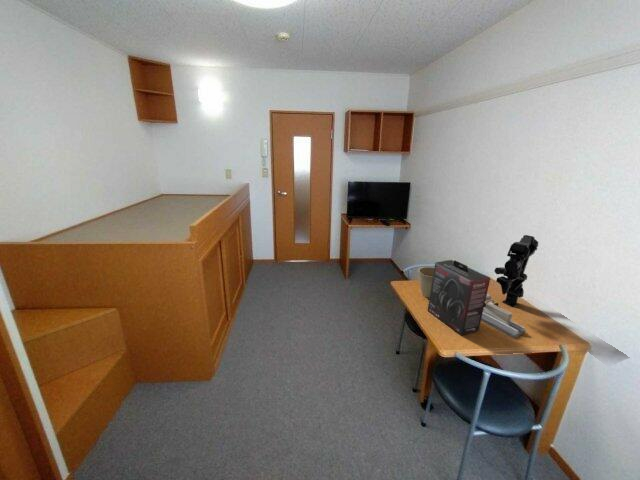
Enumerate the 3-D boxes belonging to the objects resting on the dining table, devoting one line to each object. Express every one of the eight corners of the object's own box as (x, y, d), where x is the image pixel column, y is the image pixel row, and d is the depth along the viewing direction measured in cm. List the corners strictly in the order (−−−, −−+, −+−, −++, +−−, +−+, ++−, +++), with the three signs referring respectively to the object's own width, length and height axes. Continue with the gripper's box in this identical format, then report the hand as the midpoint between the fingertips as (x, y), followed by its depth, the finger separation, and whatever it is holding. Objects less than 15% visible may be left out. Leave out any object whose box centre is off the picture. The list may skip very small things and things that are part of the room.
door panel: (486, 313, 156) (489, 302, 154) (509, 325, 146) (512, 313, 144) (483, 315, 154) (486, 303, 152) (506, 327, 144) (509, 315, 142)
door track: (480, 309, 163) (481, 303, 162) (525, 332, 143) (526, 326, 142) (468, 313, 158) (469, 308, 157) (513, 338, 138) (515, 332, 137)
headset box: (426, 310, 161) (434, 255, 150) (443, 306, 165) (453, 253, 155) (460, 336, 139) (473, 274, 129) (480, 331, 143) (493, 271, 133)
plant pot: (426, 287, 187) (430, 265, 182) (446, 297, 175) (450, 273, 170) (410, 292, 180) (413, 269, 175) (429, 303, 168) (433, 279, 163)
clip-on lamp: (466, 314, 163) (499, 309, 161) (465, 305, 161) (499, 300, 159) (457, 301, 174) (488, 297, 172) (457, 293, 172) (489, 288, 169)
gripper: (509, 258, 162) (503, 283, 167) (489, 263, 154) (483, 289, 159) (530, 265, 153) (523, 291, 158) (510, 271, 145) (504, 298, 150)
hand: (508, 292), depth 156 cm, fingers open, 9 cm apart
